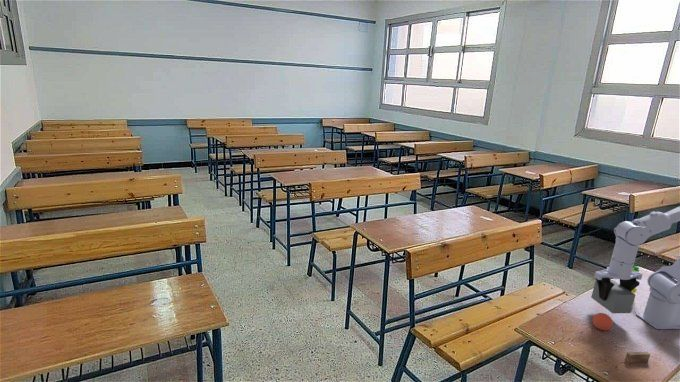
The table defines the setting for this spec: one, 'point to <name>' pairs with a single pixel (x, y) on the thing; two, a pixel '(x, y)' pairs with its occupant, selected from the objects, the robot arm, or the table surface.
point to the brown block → (637, 357)
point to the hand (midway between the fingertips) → (611, 298)
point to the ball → (602, 321)
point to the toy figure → (638, 271)
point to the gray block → (615, 298)
